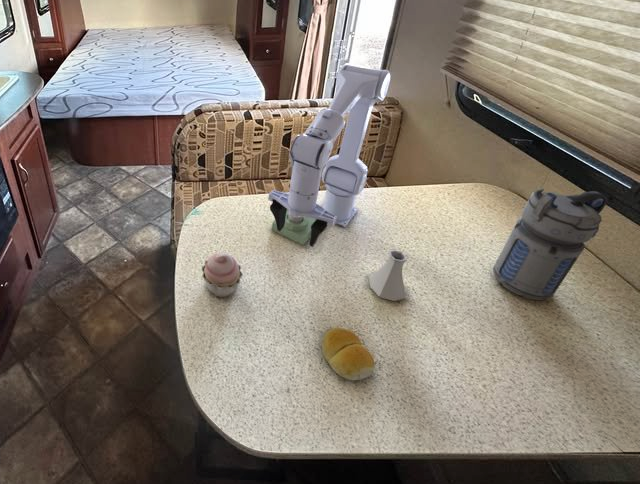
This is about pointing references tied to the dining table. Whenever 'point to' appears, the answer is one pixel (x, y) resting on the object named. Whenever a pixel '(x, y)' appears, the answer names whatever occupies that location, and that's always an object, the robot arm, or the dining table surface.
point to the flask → (390, 278)
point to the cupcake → (221, 274)
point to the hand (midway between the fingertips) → (296, 236)
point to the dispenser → (296, 229)
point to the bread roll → (347, 354)
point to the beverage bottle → (547, 242)
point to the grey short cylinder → (295, 218)
